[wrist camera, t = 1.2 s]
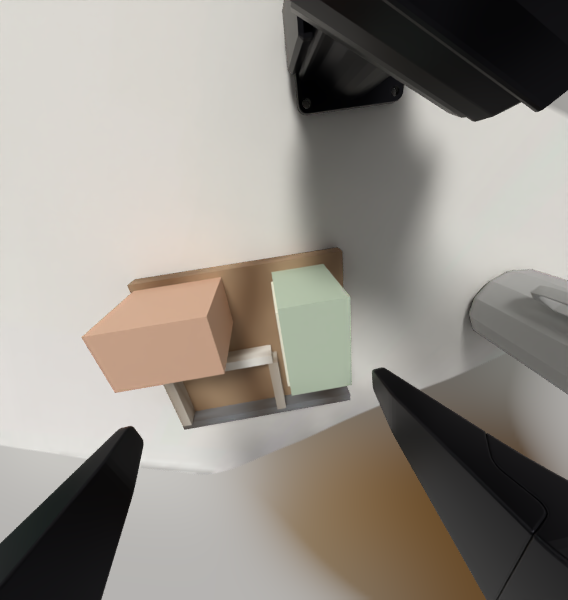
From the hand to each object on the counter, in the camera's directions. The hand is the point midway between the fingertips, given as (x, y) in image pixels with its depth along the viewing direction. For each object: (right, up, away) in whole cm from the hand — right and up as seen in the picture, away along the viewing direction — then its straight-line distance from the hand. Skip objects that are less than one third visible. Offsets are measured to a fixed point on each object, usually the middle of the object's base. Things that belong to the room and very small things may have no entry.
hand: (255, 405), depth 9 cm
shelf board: (-2, +1, +13) cm, 13 cm away
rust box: (-7, +3, +10) cm, 12 cm away
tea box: (+2, +3, +11) cm, 12 cm away
